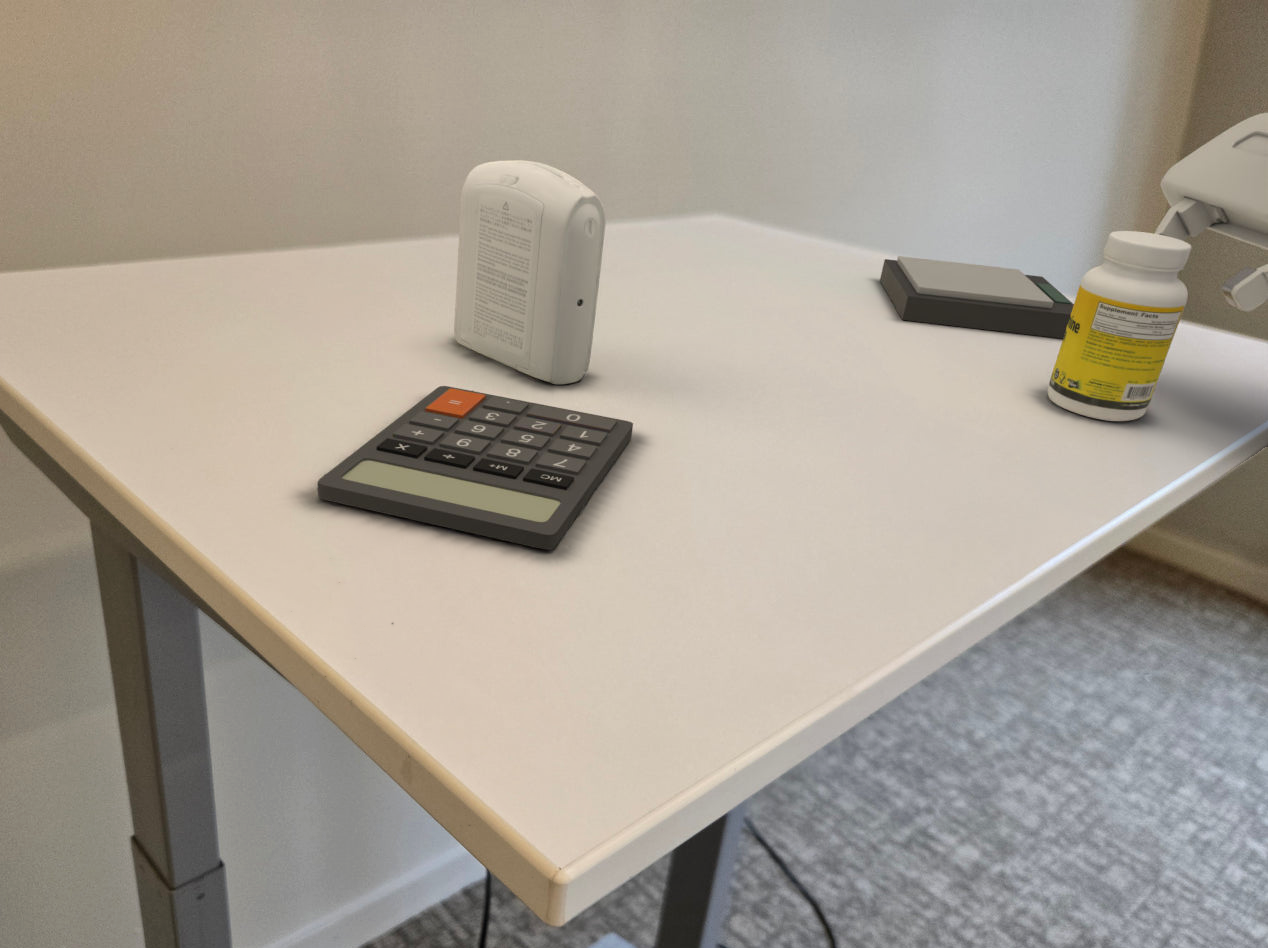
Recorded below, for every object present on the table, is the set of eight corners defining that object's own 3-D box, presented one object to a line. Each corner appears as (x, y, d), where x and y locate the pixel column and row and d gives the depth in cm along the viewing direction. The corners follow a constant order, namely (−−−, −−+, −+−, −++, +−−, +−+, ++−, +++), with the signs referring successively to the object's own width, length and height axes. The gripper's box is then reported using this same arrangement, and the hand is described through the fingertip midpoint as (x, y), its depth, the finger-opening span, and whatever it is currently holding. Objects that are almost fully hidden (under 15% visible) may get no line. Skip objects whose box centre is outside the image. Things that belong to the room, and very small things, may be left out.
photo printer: (599, 378, 69) (621, 176, 63) (552, 391, 66) (570, 181, 60) (491, 334, 75) (502, 147, 69) (444, 344, 72) (451, 150, 66)
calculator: (635, 419, 60) (553, 532, 47) (633, 434, 60) (552, 551, 47) (441, 381, 62) (314, 479, 50) (440, 396, 63) (314, 497, 50)
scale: (1036, 298, 97) (1044, 269, 96) (1079, 340, 86) (1090, 308, 85) (879, 280, 98) (886, 252, 97) (902, 320, 87) (909, 288, 86)
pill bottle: (1055, 383, 75) (1107, 223, 70) (1151, 407, 72) (1212, 241, 67) (1034, 405, 71) (1087, 235, 66) (1135, 431, 68) (1199, 256, 63)
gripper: (1264, 68, 72) (1079, 208, 75) (1531, 102, 54) (1271, 283, 57) (1299, 144, 74) (1118, 276, 78) (1565, 201, 56) (1314, 368, 60)
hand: (1184, 280), depth 67 cm, fingers open, 8 cm apart
